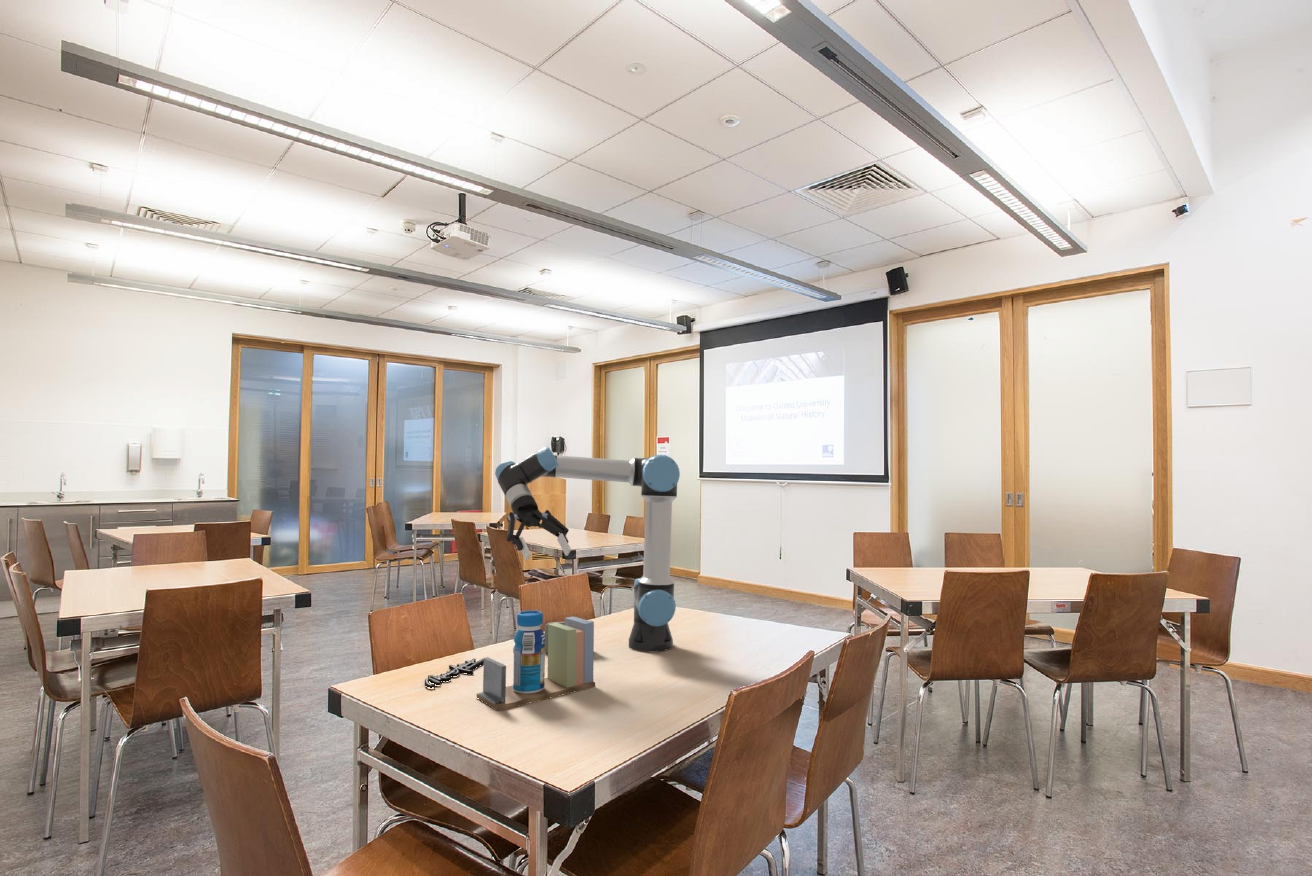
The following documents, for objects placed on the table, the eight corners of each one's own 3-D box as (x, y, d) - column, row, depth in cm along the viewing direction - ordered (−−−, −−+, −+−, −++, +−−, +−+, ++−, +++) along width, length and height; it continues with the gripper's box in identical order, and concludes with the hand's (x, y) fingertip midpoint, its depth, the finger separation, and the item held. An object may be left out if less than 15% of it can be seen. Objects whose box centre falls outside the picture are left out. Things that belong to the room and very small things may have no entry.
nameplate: (444, 686, 172) (411, 683, 174) (444, 692, 172) (411, 689, 174) (493, 658, 199) (464, 656, 201) (493, 664, 199) (464, 661, 201)
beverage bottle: (505, 691, 168) (507, 613, 170) (528, 682, 175) (529, 608, 177) (529, 697, 164) (530, 617, 165) (551, 688, 171) (552, 611, 172)
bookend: (487, 692, 167) (488, 657, 168) (505, 702, 159) (506, 665, 160) (478, 694, 165) (479, 658, 166) (496, 704, 158) (496, 667, 158)
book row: (573, 673, 184) (573, 616, 185) (593, 681, 177) (593, 622, 178) (547, 678, 179) (548, 620, 180) (567, 687, 171) (567, 626, 172)
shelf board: (571, 676, 185) (571, 672, 185) (595, 686, 176) (595, 682, 176) (476, 698, 166) (476, 693, 166) (497, 711, 157) (497, 706, 157)
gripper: (552, 508, 209) (579, 558, 197) (480, 512, 192) (505, 568, 180) (560, 492, 205) (589, 542, 193) (488, 495, 189) (514, 550, 177)
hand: (548, 555), depth 187 cm, fingers open, 13 cm apart
